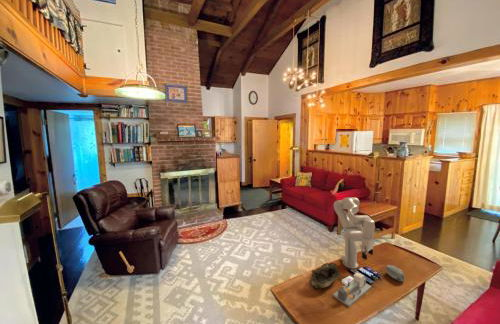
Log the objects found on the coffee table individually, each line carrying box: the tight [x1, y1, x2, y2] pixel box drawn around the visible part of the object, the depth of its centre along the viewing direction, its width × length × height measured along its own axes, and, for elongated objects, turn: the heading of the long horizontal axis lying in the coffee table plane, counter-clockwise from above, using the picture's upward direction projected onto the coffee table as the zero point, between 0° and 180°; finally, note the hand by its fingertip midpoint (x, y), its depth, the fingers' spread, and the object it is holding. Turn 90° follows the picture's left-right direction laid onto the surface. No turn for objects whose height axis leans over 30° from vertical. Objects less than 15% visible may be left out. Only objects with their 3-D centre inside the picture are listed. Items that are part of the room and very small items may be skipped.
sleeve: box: [353, 272, 365, 288], centre depth 153 cm, size 5×5×8 cm
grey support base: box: [332, 277, 372, 308], centre depth 149 cm, size 12×30×8 cm, turn 124°
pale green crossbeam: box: [345, 281, 359, 294], centre depth 149 cm, size 2×26×2 cm, turn 124°
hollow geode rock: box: [308, 262, 341, 290], centre depth 160 cm, size 28×13×15 cm
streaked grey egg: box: [385, 264, 406, 282], centre depth 163 cm, size 14×10×10 cm
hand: (367, 256), depth 155 cm, fingers open, 9 cm apart
